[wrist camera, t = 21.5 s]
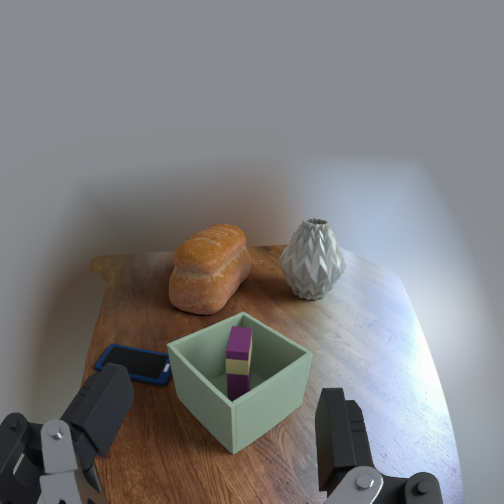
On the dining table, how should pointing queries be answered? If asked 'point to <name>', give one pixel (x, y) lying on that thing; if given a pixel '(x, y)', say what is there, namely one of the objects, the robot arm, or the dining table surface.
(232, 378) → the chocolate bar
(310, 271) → the vase
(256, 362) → the open storage box
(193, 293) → the bread
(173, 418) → the dining table surface
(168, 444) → the dining table surface
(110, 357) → the cell phone
